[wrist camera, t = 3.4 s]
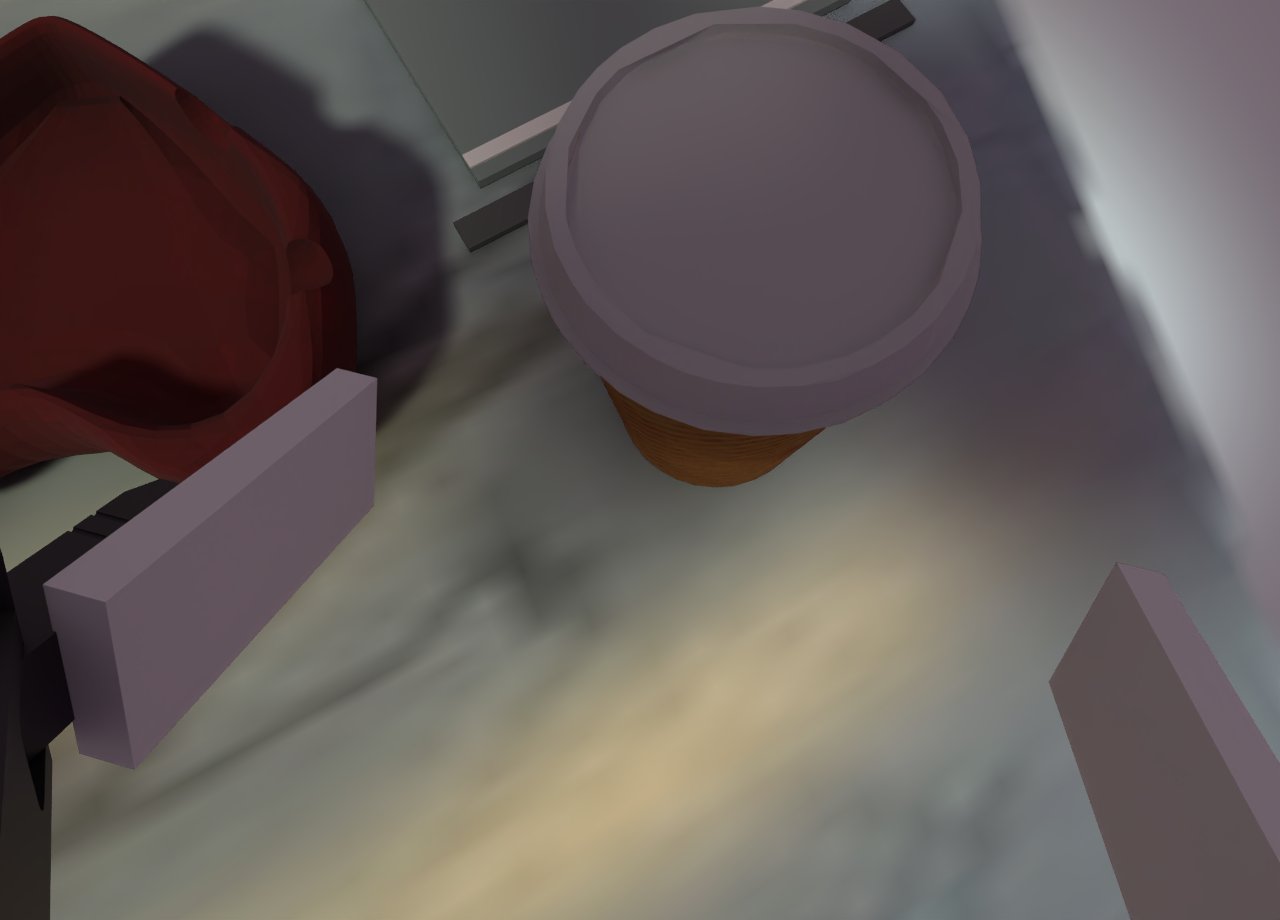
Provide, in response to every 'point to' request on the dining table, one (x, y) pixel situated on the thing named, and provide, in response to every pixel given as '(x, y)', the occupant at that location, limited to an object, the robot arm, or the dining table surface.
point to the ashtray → (149, 265)
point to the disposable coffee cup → (754, 234)
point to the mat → (522, 62)
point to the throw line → (516, 204)
